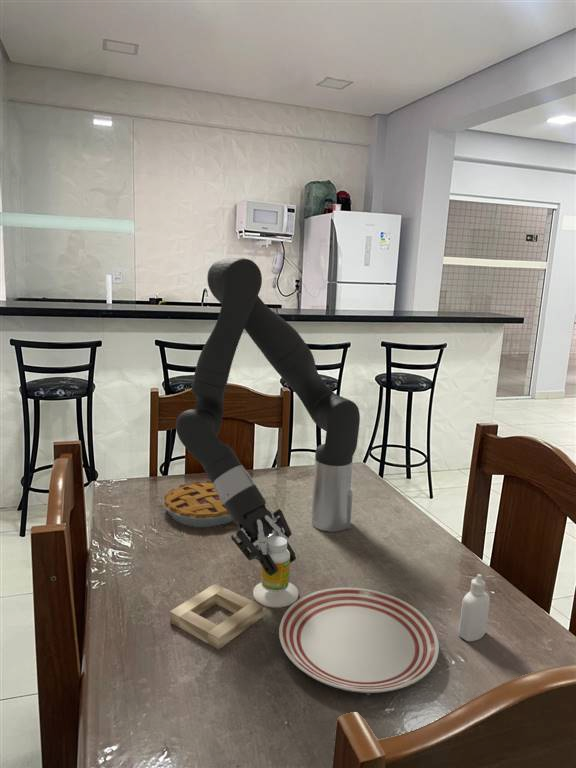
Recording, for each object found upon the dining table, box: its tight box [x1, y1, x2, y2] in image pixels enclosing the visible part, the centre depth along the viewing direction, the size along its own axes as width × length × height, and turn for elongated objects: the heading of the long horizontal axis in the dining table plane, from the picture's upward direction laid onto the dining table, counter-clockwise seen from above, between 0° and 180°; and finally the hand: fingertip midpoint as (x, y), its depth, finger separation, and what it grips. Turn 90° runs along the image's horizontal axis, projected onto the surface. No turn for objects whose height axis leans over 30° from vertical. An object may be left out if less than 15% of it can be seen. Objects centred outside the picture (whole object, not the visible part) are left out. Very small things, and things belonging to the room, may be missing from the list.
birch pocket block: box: [169, 583, 264, 650], centre depth 108 cm, size 12×12×2 cm
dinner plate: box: [278, 587, 440, 694], centre depth 102 cm, size 27×27×3 cm
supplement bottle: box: [261, 536, 291, 592], centre depth 116 cm, size 5×5×10 cm
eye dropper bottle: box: [458, 573, 491, 642], centre depth 106 cm, size 4×6×12 cm
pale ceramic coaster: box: [252, 581, 299, 609], centre depth 117 cm, size 9×9×1 cm
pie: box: [162, 480, 234, 528], centre depth 153 cm, size 22×22×5 cm
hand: (283, 567), depth 115 cm, fingers closed on supplement bottle, 5 cm apart
